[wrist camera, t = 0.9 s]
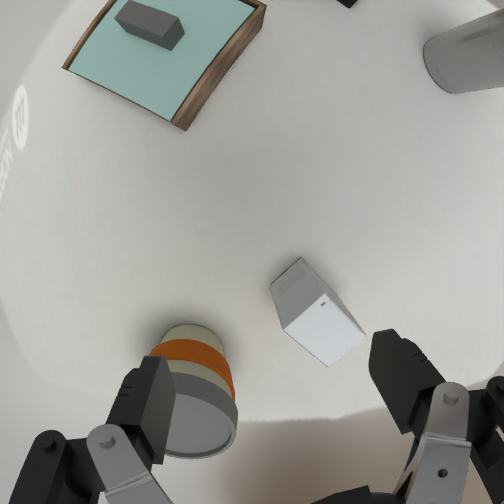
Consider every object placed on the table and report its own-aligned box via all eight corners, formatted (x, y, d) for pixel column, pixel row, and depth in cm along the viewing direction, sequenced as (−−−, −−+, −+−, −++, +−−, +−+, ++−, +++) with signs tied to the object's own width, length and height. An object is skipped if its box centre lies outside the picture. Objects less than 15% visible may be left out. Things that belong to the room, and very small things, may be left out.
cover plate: (149, -28, 20) (138, -49, 16) (254, 12, 23) (258, -10, 19) (72, 71, 24) (49, 61, 19) (172, 122, 27) (160, 115, 22)
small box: (268, 285, 38) (280, 329, 28) (300, 255, 37) (324, 291, 27) (307, 322, 40) (328, 369, 30) (338, 295, 39) (368, 337, 29)
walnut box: (157, -16, 25) (146, -40, 19) (261, 28, 28) (266, 5, 22) (85, 79, 28) (61, 67, 22) (185, 131, 32) (175, 125, 26)
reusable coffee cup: (147, 307, 38) (111, 380, 24) (240, 317, 39) (244, 397, 25) (152, 376, 42) (130, 451, 27) (232, 385, 43) (233, 464, 28)
